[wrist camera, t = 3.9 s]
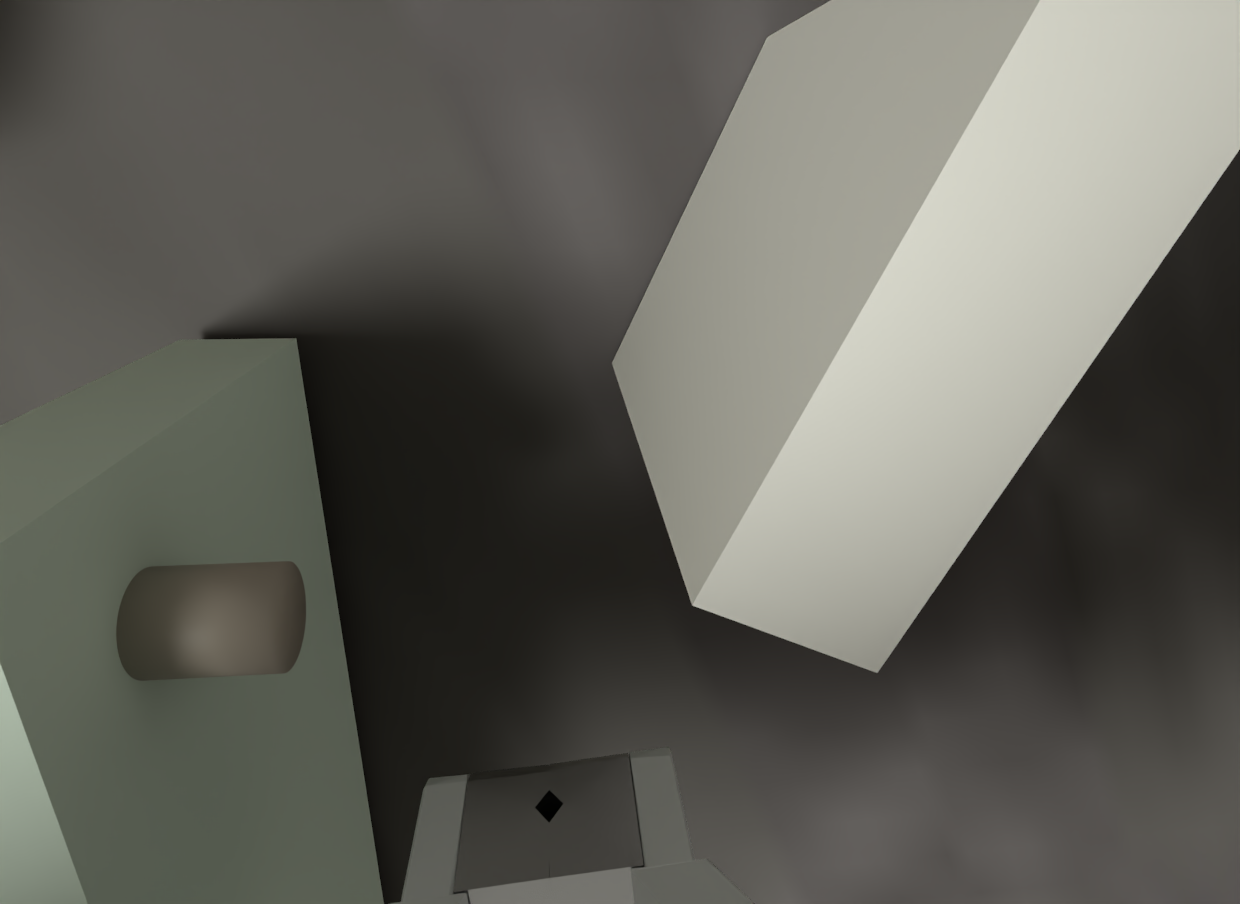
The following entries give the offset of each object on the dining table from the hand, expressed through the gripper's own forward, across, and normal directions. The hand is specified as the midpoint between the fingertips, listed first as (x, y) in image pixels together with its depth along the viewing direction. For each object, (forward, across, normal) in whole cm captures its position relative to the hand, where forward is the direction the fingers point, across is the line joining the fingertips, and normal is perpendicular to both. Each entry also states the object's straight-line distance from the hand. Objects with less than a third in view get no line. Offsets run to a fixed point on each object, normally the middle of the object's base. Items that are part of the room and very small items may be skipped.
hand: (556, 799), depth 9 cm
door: (+4, +4, +1) cm, 6 cm away
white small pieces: (+4, +1, +2) cm, 5 cm away
